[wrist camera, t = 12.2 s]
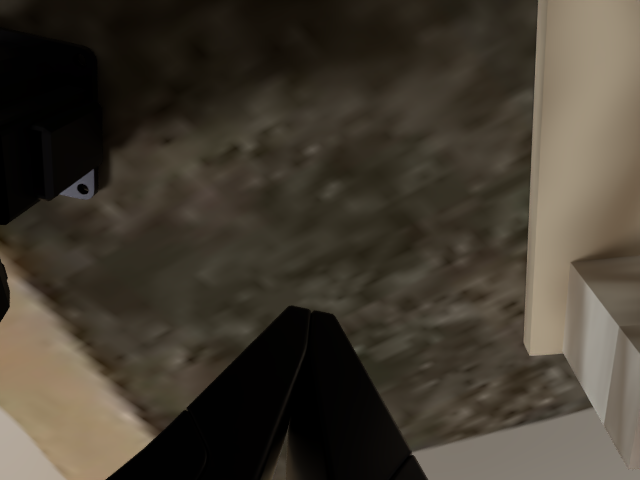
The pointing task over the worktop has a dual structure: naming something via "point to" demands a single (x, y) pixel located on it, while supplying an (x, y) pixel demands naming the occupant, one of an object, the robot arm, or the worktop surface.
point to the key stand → (588, 206)
